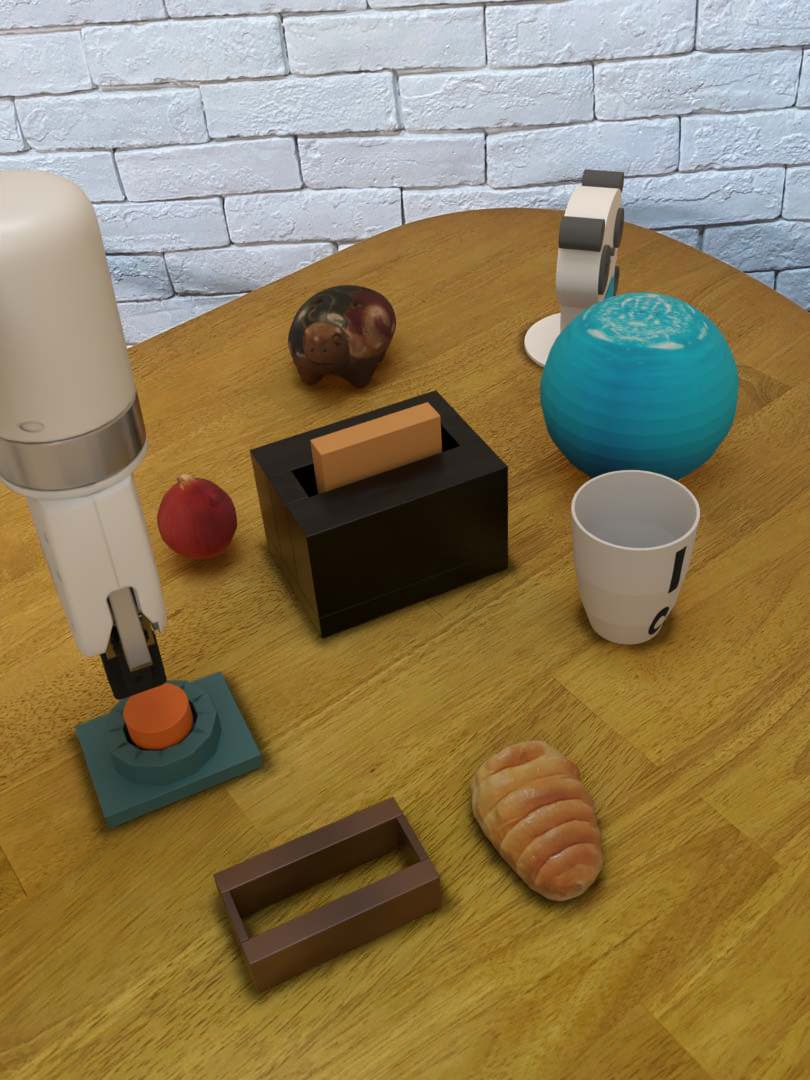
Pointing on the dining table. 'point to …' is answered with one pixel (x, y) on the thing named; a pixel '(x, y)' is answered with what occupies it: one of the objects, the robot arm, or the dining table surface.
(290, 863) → the brown rectangular frame
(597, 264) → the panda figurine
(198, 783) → the block
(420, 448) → the toast
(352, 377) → the brown mottled ceramic figure
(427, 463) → the toaster
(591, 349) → the decorative orb
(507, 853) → the pastry
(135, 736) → the button
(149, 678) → the robot arm
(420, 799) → the dining table surface
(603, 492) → the cup
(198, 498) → the onion
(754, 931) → the dining table surface
